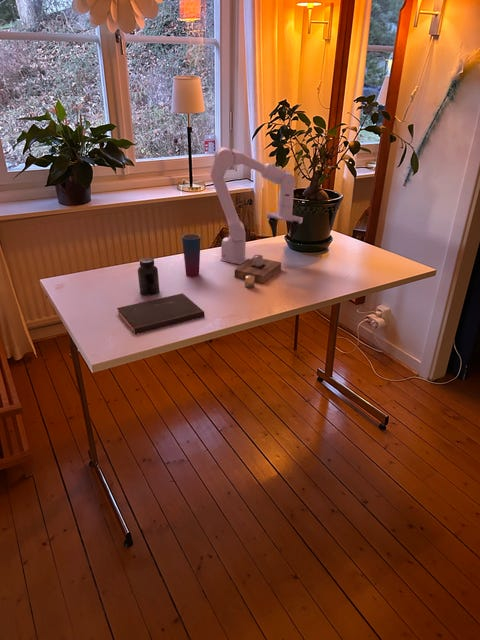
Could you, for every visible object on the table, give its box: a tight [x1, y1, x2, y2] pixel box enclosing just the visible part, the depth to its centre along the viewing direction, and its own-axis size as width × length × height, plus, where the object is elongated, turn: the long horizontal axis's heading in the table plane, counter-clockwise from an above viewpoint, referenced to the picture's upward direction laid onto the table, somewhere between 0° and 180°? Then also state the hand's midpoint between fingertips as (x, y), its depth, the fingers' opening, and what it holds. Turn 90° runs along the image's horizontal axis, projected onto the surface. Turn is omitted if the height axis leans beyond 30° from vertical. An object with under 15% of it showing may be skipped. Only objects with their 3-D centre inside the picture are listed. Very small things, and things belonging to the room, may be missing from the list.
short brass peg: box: [244, 275, 255, 290], centre depth 169 cm, size 3×3×4 cm
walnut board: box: [234, 256, 282, 284], centre depth 180 cm, size 12×16×3 cm
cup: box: [181, 233, 201, 278], centre depth 175 cm, size 7×7×15 cm
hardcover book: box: [116, 292, 205, 335], centre depth 149 cm, size 16×23×2 cm
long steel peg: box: [253, 254, 264, 269], centre depth 179 cm, size 3×3×7 cm
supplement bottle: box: [137, 257, 160, 296], centre depth 161 cm, size 7×7×12 cm
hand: (283, 238), depth 190 cm, fingers open, 7 cm apart
